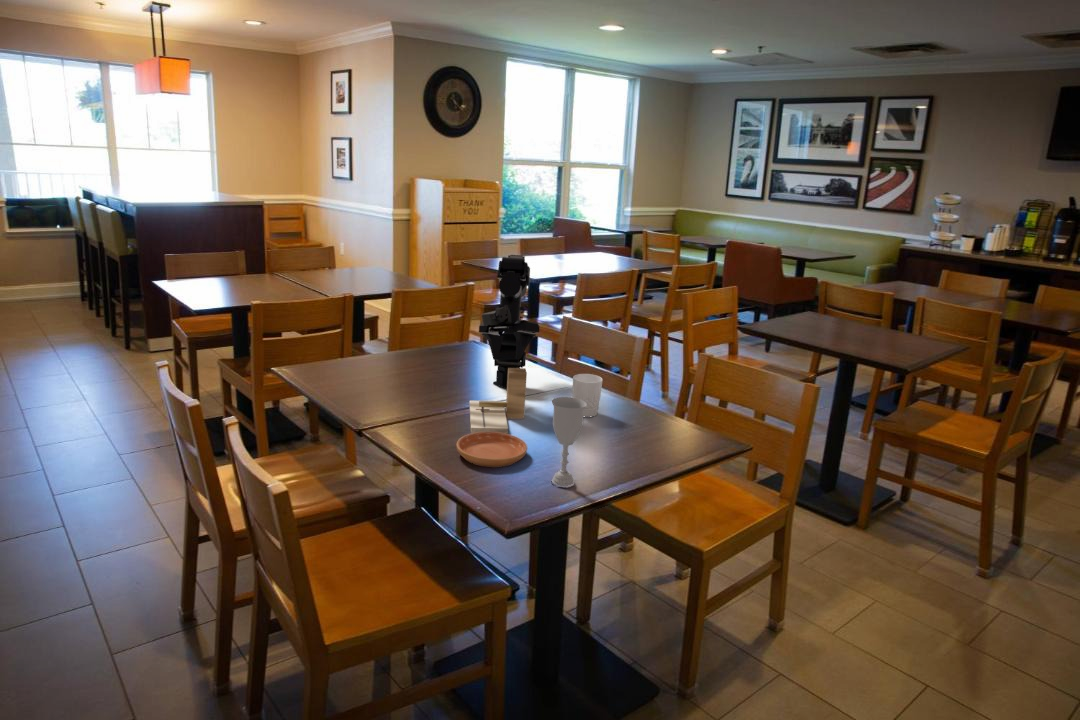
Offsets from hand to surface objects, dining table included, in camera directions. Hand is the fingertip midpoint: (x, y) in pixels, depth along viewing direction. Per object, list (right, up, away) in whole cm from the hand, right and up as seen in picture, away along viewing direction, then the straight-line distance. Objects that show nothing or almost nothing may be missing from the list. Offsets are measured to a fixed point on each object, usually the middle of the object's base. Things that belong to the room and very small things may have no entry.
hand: (506, 359), depth 195 cm
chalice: (+14, -26, -43) cm, 52 cm away
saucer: (-2, -22, -32) cm, 39 cm away
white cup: (+21, -15, -1) cm, 26 cm away
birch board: (-4, -15, -10) cm, 19 cm away
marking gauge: (-1, -15, -6) cm, 16 cm away
